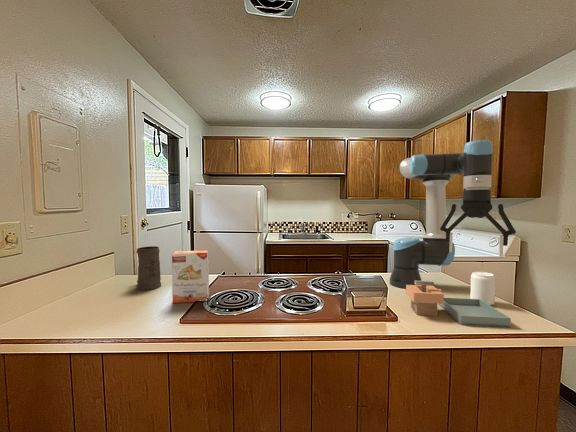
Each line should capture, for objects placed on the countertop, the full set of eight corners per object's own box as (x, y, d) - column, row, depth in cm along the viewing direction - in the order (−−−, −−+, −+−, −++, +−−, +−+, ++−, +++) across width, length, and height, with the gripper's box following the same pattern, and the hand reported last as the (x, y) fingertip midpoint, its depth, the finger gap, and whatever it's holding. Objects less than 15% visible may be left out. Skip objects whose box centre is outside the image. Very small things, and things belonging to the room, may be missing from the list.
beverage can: (498, 306, 107) (499, 276, 106) (475, 305, 108) (476, 275, 108) (488, 299, 115) (488, 271, 114) (466, 298, 116) (467, 270, 116)
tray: (438, 304, 109) (438, 297, 109) (479, 306, 107) (479, 299, 107) (460, 324, 91) (460, 315, 91) (510, 327, 89) (510, 318, 89)
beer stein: (166, 285, 135) (164, 245, 135) (145, 291, 126) (143, 248, 126) (149, 283, 143) (146, 245, 143) (128, 288, 134) (125, 248, 134)
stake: (410, 307, 107) (411, 278, 106) (429, 308, 106) (430, 279, 105) (416, 314, 100) (417, 283, 99) (437, 315, 99) (437, 284, 98)
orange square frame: (406, 293, 108) (406, 284, 108) (435, 294, 106) (435, 285, 106) (413, 302, 98) (414, 292, 98) (446, 304, 97) (446, 294, 96)
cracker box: (172, 304, 111) (171, 253, 110) (175, 299, 117) (174, 250, 116) (207, 301, 113) (206, 252, 112) (209, 297, 119) (208, 249, 118)
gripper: (432, 189, 92) (431, 251, 93) (529, 187, 79) (526, 260, 80) (434, 190, 98) (433, 248, 100) (524, 188, 85) (521, 255, 86)
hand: (474, 253), depth 90 cm, fingers open, 13 cm apart
